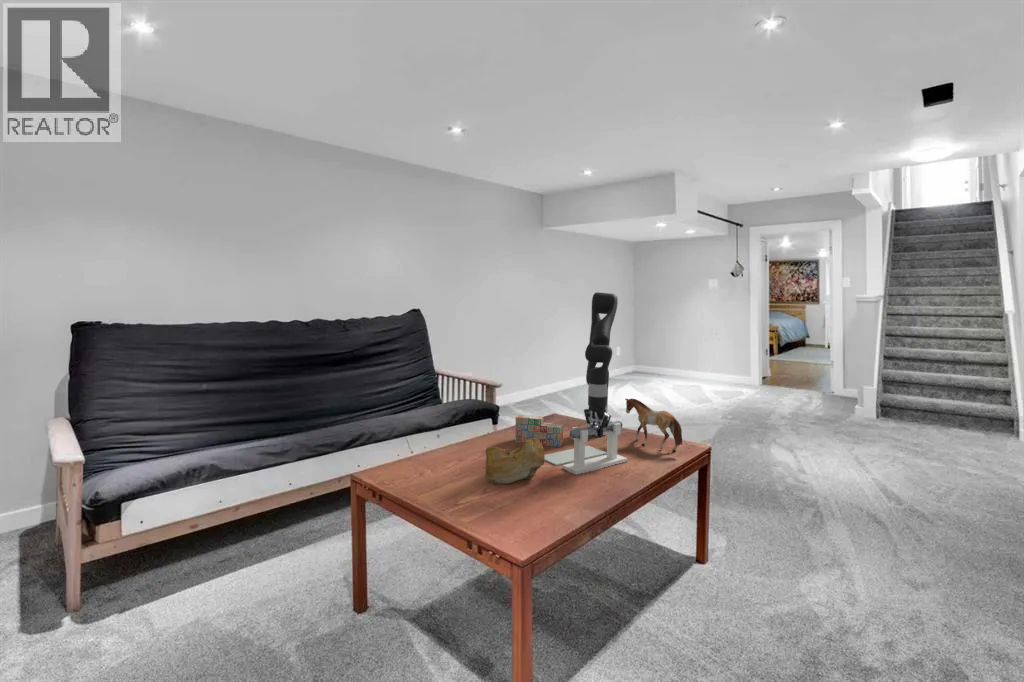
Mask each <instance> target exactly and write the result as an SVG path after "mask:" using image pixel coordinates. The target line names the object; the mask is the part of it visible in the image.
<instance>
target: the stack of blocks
mask: <svg viewBox="0 0 1024 682" xmlns="http://www.w3.org/2000/svg"><path fill="white" fill-rule="evenodd" d="M532 438H537V439H539V441H540V443H541V444H542V446H547V447H554V448H555V447H556V448H560V447H561V446H562V445H563V443H564V439H563V438H564V423H554V422H553V423H552V422H545V416H544V415H536V414H533V415H532V414H526V413H525V414H523V413H518V414H517V416H515V443H519V442H522V443H521V444H523V443H524V442H525V441H527V440H529V439H532Z"/></svg>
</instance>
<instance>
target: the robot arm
mask: <svg viewBox="0 0 1024 682" xmlns="http://www.w3.org/2000/svg"><path fill="white" fill-rule="evenodd" d="M618 301H619V300H618V296H617V294H615V293H610V292H609V293H608V292H599V291H598V292H594V294H593V295H592V298H591V324H590V334H589V343H588V345H587V347H586V348H585V351H584V352H585V353H584V357H585V360H586V361H587V368H586V375H585V376H586V377H585V380H586V384H587V385H588V388H587V393H588V394H587V397H588V398H587V406H588V408H584V409H583V414H584V417H585V421H586V427H591V426H596V425H597V426H598V429H597V434H592V435H591V436H593V435H594V436H593V437H597V439H600V438H602V437H604V436H603V435H605V436H607V435H606V434H607V433H606V432H603V428H607V426H608V424H609V421H610V420H611V418H612V416H611V414H608V405H609V404H608V401H609V399H608V398H609V396H608V395H609V382H610V381H609V380H610V372H609V366H610V362H611V360H612V356H613V349H612V347H611V346H610V343H611V342H610V341H611V331H612V327H613V323H614V321H615V316H616V314H617V309H618V305H619V304H618V303H619V302H618ZM601 314H602V315H605V316H604V317H602V318H601V317H600V315H601ZM598 363H600V364H601V363H602V365H601V366H597V364H598ZM600 425H601V426H600Z"/></svg>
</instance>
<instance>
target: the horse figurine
mask: <svg viewBox="0 0 1024 682" xmlns="http://www.w3.org/2000/svg"><path fill="white" fill-rule="evenodd" d="M624 400H625V401H626V403H625V404H626V407H625V413H626V414H631V411H632V410H633V409H635V411H636V413H637V414H638V417H637V418H638V419H637V420H638V421H639V423H640V425H639V426H638V428H637V431H636V435H635V441H639V440H640V438H639V434H640V431H641V430H643V434H644V441H643V442H642V443H641V445H642V444H645V445H646V444H647V442H648V427H647V425H650V426H657V427H658V429H660V432H661V433H662V434H663V435H664V438H663V440H662V441H661V442H660V445H659V450H660V449H661V450H662V449H663V448H664V446H663V445H664V444H665V443H666V441H667V439H669V437H670V433H671V435H672V436H673V438H674V447H673V448H672V449H673V450H672V451H674V450H675V451H677V450H678V446H680V445H681V446H682V445H683V434H682V432H683V431H682V427H681V424H680V422H679V420H678V419H676V417H675V416H674V415H673V414H672V413H670V412H668V411H666V410H653V409H651V408H650V407H649V406H647V404H645V403H644V402H642V401H641V400H638V399H635V398H629V399H628V398H625V399H624ZM667 428H669V431H670V433H668V431H667Z"/></svg>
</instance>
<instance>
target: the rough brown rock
mask: <svg viewBox="0 0 1024 682" xmlns="http://www.w3.org/2000/svg"><path fill="white" fill-rule="evenodd" d="M544 455H545V451H544V445H542V444H541V443H540V441H539V439H537V438H532V439H529V440H527V441H525V442H524V443H521V446H519V447H516V448H510V449H502V448H500V447H498V446H489V447H487V448H486V449H485V479H486V481H487V482H491V483H493V484H496V485H508V484H512V483H513V482H517V481H520V480H524V479H527V480H528V479H529V480H530V479H533V478H534V476H535V475H536V473H537V471H538V470H539V469H540V468H541V466H543V465H544V464H545V459H544V458H545V456H544Z"/></svg>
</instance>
